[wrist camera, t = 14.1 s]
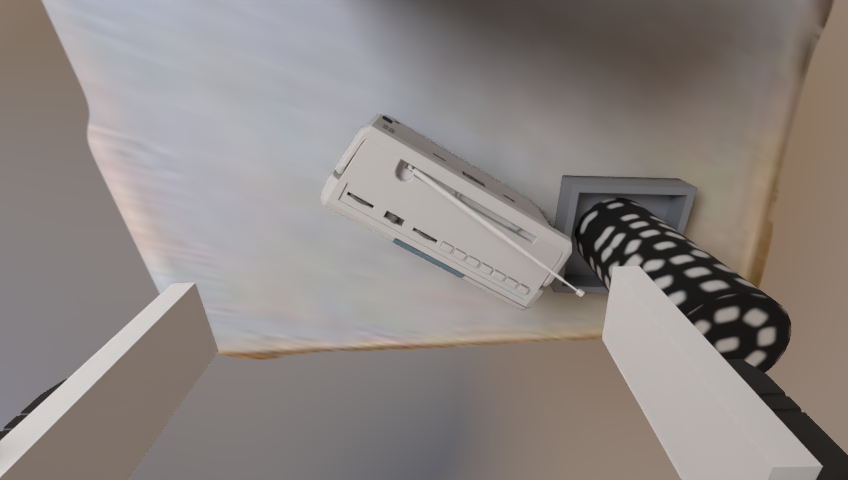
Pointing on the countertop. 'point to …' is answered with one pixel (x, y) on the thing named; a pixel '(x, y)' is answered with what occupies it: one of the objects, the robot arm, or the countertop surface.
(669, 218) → the tray
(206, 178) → the countertop surface
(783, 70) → the countertop surface
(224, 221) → the countertop surface
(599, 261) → the spotted tube
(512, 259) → the stereo radio cassette player
